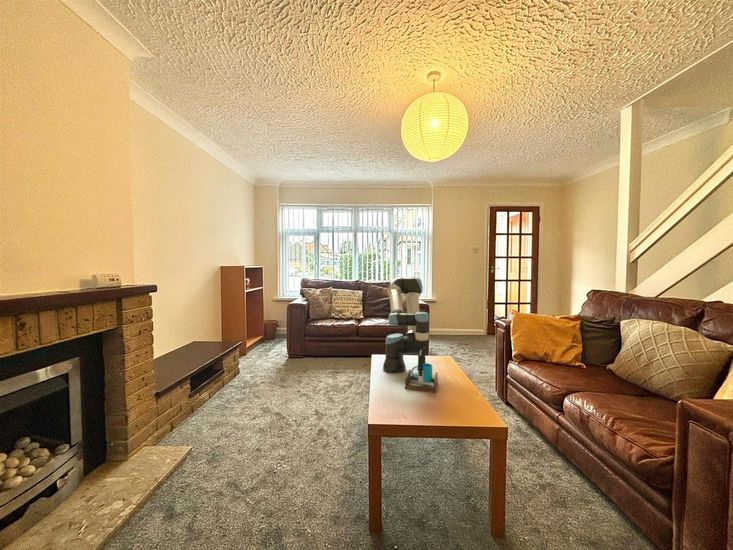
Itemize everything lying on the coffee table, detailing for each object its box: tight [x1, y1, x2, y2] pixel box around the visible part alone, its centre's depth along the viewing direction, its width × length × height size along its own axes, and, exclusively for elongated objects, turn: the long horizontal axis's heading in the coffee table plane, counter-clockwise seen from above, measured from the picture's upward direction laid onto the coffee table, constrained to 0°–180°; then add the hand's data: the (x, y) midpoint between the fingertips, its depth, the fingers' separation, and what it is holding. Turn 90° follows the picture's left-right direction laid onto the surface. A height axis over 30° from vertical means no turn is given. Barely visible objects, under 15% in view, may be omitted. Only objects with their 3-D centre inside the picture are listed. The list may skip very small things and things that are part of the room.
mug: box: [410, 362, 433, 382], centre depth 170 cm, size 12×8×8 cm
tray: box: [404, 369, 438, 393], centre depth 171 cm, size 15×17×6 cm
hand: (421, 378), depth 171 cm, fingers closed on mug, 8 cm apart
